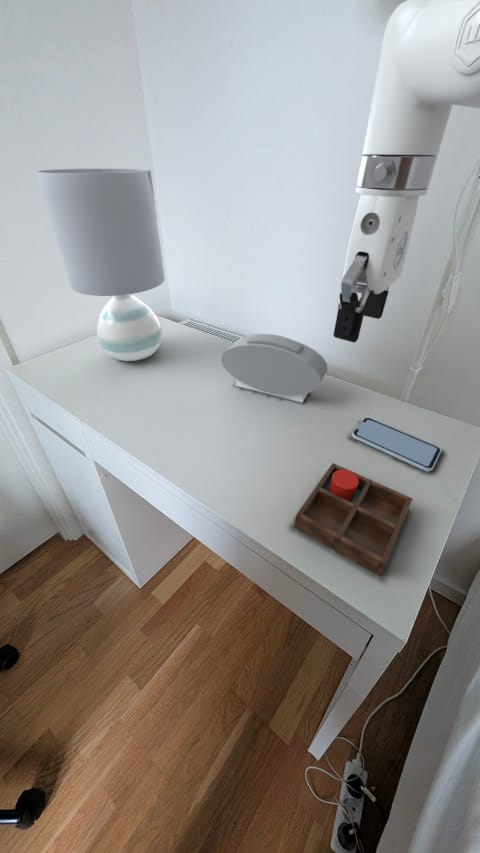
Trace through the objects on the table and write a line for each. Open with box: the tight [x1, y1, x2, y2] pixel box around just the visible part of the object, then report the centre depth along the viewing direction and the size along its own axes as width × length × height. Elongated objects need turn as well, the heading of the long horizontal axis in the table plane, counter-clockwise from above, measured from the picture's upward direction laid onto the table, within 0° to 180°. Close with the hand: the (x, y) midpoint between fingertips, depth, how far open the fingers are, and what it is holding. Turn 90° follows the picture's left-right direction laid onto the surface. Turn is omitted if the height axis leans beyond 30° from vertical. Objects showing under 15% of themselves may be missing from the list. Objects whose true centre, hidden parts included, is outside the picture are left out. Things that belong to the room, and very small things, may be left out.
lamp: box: [36, 167, 166, 362], centre depth 80 cm, size 22×22×40 cm
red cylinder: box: [329, 470, 359, 502], centre depth 53 cm, size 4×4×4 cm
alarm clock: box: [220, 333, 328, 403], centre depth 76 cm, size 23×6×13 cm, turn 65°
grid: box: [293, 462, 413, 577], centre depth 51 cm, size 13×13×3 cm
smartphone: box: [351, 417, 442, 473], centre depth 64 cm, size 7×1×15 cm
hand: (358, 327), depth 48 cm, fingers open, 9 cm apart
